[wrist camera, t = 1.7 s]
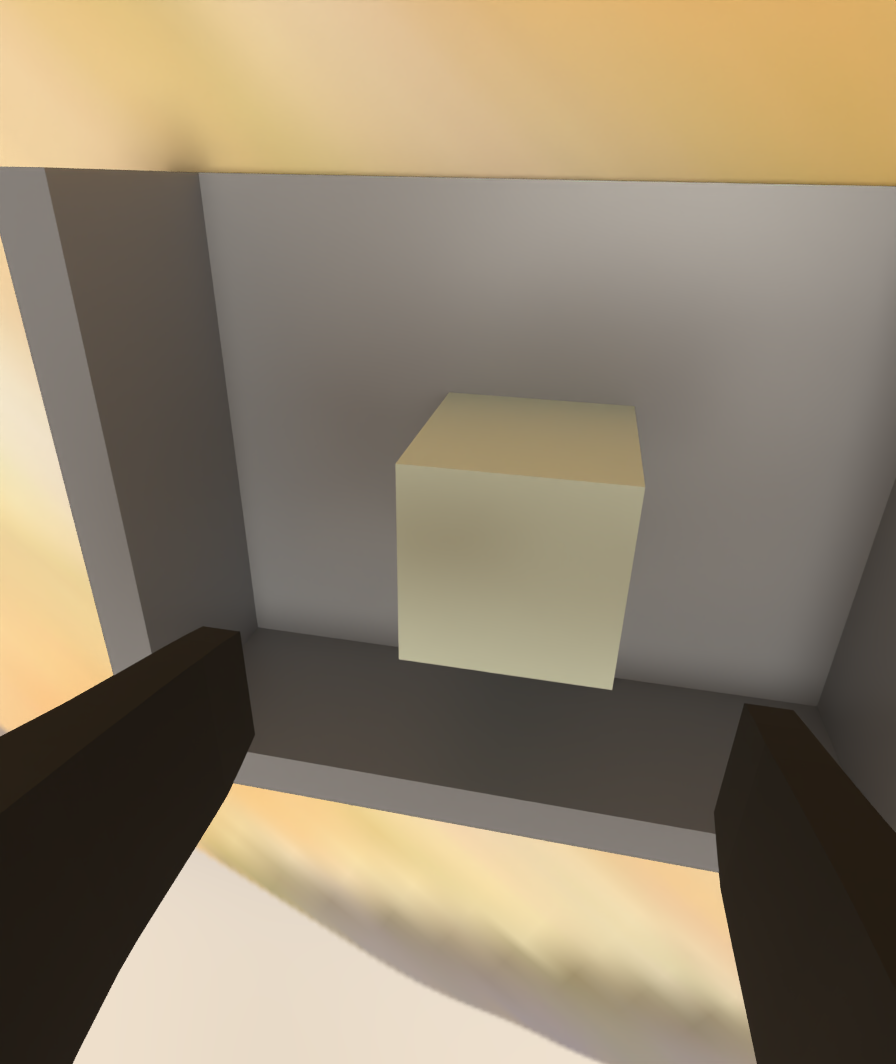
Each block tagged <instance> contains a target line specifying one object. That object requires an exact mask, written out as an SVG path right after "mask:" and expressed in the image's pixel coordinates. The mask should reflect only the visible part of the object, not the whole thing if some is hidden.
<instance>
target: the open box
mask: <svg viewBox="0 0 896 1064" xmlns="http://www.w3.org/2000/svg"><path fill="white" fill-rule="evenodd" d="M0 235H1V239H2V243H3V247H4V251H5V255H6V259H7V263H8V267H9V270H10V274H11V278H12V282H13V286H14V290H15V294H16V298H17V302H18V305H19V309H20V313H21V317H22V321H23V325H24V329H25V333H26V337H27V340H28V344H29V348H30V352H31V356H32V360H33V364H34V368H35V372H36V375H37V379H38V383H39V387H40V391H41V395H42V399H43V403H44V406H45V410H46V414H47V418H48V422H49V426H50V430H51V434H52V438H53V441H54V445H55V449H56V453H57V457H58V461H59V465H60V469H61V473H62V476H63V480H64V484H65V488H66V492H67V496H68V500H69V504H70V508H71V511H72V515H73V519H74V523H75V527H76V531H77V535H78V539H79V543H80V546H81V550H82V554H83V558H84V562H85V566H86V570H87V574H88V578H89V581H90V585H91V589H92V593H93V597H94V601H95V605H96V609H97V613H98V616H99V620H100V624H101V628H102V632H103V636H104V640H105V644H106V648H107V651H108V655H109V659H110V663H111V667H112V671H113V675H115V674H117V673H119V672H121V671H122V670H124V669H126V668H128V667H129V666H131V665H133V664H135V663H136V662H138V661H140V660H142V659H143V658H145V657H147V656H149V655H150V654H152V653H154V652H156V651H157V650H159V649H161V648H163V647H164V646H166V645H168V644H170V643H172V642H173V641H175V640H177V639H179V638H181V637H183V636H185V635H186V634H188V633H190V632H192V631H194V630H196V629H198V628H200V627H203V626H205V627H212V628H219V629H226V630H233V631H240V634H241V641H242V648H243V655H244V662H245V669H246V676H247V682H248V689H249V696H250V703H251V710H252V717H253V724H254V731H255V736H254V738H253V741H252V743H251V745H250V747H249V750H248V752H247V754H246V756H245V759H244V761H243V763H242V766H241V768H240V770H239V772H238V774H237V776H236V778H235V780H234V782H233V783H236V784H241V785H246V786H252V787H257V788H263V789H268V790H274V791H279V792H284V793H290V794H295V795H301V796H306V797H312V798H317V799H322V800H328V801H333V802H339V803H344V804H349V805H355V806H360V807H366V808H371V809H377V810H382V811H387V812H393V813H398V814H404V815H409V816H415V817H420V818H425V819H431V820H436V821H442V822H447V823H452V824H458V825H463V826H469V827H474V828H480V829H485V830H490V831H496V832H501V833H507V834H512V835H518V836H523V837H528V838H534V839H539V840H545V841H550V842H555V843H561V844H566V845H572V846H577V847H583V848H588V849H593V850H599V851H604V852H610V853H615V854H621V855H626V856H631V857H637V858H642V859H648V860H653V861H658V862H664V863H669V864H675V865H680V866H686V867H691V868H696V869H702V870H707V871H713V872H718V873H719V868H718V858H717V846H716V834H715V821H714V810H715V806H716V803H717V799H718V795H719V792H720V788H721V785H722V781H723V778H724V774H725V770H726V767H727V763H728V760H729V756H730V752H731V749H732V745H733V742H734V738H735V735H736V731H737V727H738V724H739V720H740V717H741V713H742V709H743V706H744V703H747V704H754V705H761V706H768V707H775V708H782V709H789V710H794V711H795V713H796V714H797V715H798V716H799V717H800V719H801V720H802V721H803V722H804V723H805V725H806V726H807V727H808V728H809V729H810V731H811V732H812V733H813V734H814V736H815V737H816V738H817V739H818V740H819V742H820V743H821V744H822V745H823V747H824V748H825V749H826V750H827V751H828V753H829V754H830V755H831V756H832V758H833V759H834V760H835V761H836V762H837V764H838V765H839V766H840V767H841V769H842V770H843V771H844V772H845V773H846V775H847V776H848V777H849V778H850V779H851V781H852V782H853V783H854V784H855V785H856V787H857V788H858V789H859V790H860V791H861V793H862V794H863V795H864V796H865V797H866V799H867V800H868V801H869V802H870V803H871V805H872V806H873V807H874V808H875V809H876V810H877V812H878V813H879V814H880V815H881V816H882V817H883V819H884V820H885V821H886V822H887V823H888V824H889V825H890V827H891V828H892V829H893V830H894V831H895V832H896V186H848V185H798V184H748V183H697V182H647V181H597V180H546V179H496V178H446V177H395V176H345V175H295V174H244V173H196V172H165V171H135V170H104V169H74V168H43V167H0ZM449 392H451V393H465V394H478V395H491V396H505V397H518V398H532V399H545V400H558V401H572V402H585V403H599V404H612V405H625V406H635V414H636V421H637V429H638V436H639V444H640V451H641V459H642V466H643V474H644V481H645V492H644V498H643V504H642V510H641V517H640V523H639V529H638V535H637V541H636V547H635V553H634V559H633V565H632V572H631V578H630V584H629V590H628V596H627V602H626V608H625V614H624V620H623V627H622V633H621V639H620V645H619V651H618V657H617V663H616V669H615V675H614V682H613V688H612V690H608V689H601V688H594V687H587V686H580V685H573V684H567V683H560V682H553V681H546V680H539V679H532V678H525V677H518V676H511V675H504V674H497V673H490V672H484V671H477V670H470V669H463V668H456V667H449V666H442V665H435V664H428V663H421V662H414V661H407V660H400V659H399V643H398V585H397V528H396V470H395V464H396V462H397V461H398V460H399V458H400V457H401V456H402V454H403V453H404V452H405V450H406V449H407V448H408V446H409V445H410V444H411V442H412V441H413V440H414V438H415V437H416V436H417V434H418V433H419V432H420V430H421V429H422V428H423V426H424V425H425V424H426V422H427V421H428V420H429V418H430V417H431V416H432V414H433V413H434V412H435V411H436V409H437V408H438V407H439V405H440V404H441V403H442V401H443V400H444V399H445V397H446V396H447V395H448V393H449Z"/></svg>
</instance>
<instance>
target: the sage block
mask: <svg viewBox="0 0 896 1064" xmlns="http://www.w3.org/2000/svg"><path fill="white" fill-rule="evenodd" d="M395 470H396V528H397V585H398V643H399V659H400V660H407V661H414V662H421V663H428V664H435V665H442V666H449V667H456V668H463V669H470V670H477V671H484V672H490V673H497V674H504V675H511V676H518V677H525V678H532V679H539V680H546V681H553V682H560V683H567V684H573V685H580V686H587V687H594V688H601V689H608V690H612V688H613V682H614V675H615V669H616V663H617V657H618V651H619V645H620V639H621V633H622V627H623V620H624V614H625V608H626V602H627V596H628V590H629V584H630V578H631V572H632V565H633V559H634V553H635V547H636V541H637V535H638V529H639V523H640V517H641V510H642V504H643V498H644V492H645V481H644V474H643V466H642V459H641V451H640V444H639V436H638V429H637V421H636V414H635V406H625V405H612V404H599V403H585V402H572V401H558V400H545V399H532V398H518V397H505V396H491V395H478V394H465V393H451V392H449V393H448V395H447V396H446V397H445V399H444V400H443V401H442V403H441V404H440V405H439V407H438V408H437V409H436V411H435V412H434V413H433V414H432V416H431V417H430V418H429V420H428V421H427V422H426V424H425V425H424V426H423V428H422V429H421V430H420V432H419V433H418V434H417V436H416V437H415V438H414V440H413V441H412V442H411V444H410V445H409V446H408V448H407V449H406V450H405V452H404V453H403V454H402V456H401V457H400V458H399V460H398V461H397V462H396V464H395Z"/></svg>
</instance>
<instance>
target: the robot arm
mask: <svg viewBox="0 0 896 1064" xmlns="http://www.w3.org/2000/svg"><path fill="white" fill-rule="evenodd" d="M254 736H255V731H254V724H253V717H252V710H251V703H250V696H249V689H248V682H247V676H246V669H245V662H244V655H243V648H242V641H241V634H240V631H233V630H226V629H219V628H212V627H205V626H203V627H200V628H198V629H196V630H194V631H192V632H190V633H188V634H186V635H185V636H183V637H181V638H179V639H177V640H175V641H173V642H172V643H170V644H168V645H166V646H164V647H163V648H161V649H159V650H157V651H156V652H154V653H152V654H150V655H149V656H147V657H145V658H143V659H142V660H140V661H138V662H136V663H135V664H133V665H131V666H129V667H128V668H126V669H124V670H122V671H121V672H119V673H117V674H115V675H113V676H112V677H110V678H108V679H106V680H105V681H103V682H101V683H99V684H98V685H96V686H94V687H92V688H90V689H89V690H87V691H85V692H83V693H82V694H80V695H78V696H76V697H74V698H73V699H71V700H69V701H67V702H65V703H64V704H62V705H60V706H58V707H56V708H54V709H52V710H50V711H48V712H46V713H45V714H43V715H41V716H39V717H37V718H35V719H33V720H31V721H29V722H27V723H25V724H23V725H22V726H20V727H18V728H16V729H14V730H12V731H10V732H8V733H6V734H4V735H2V736H0V1064H73V1061H74V1059H75V1057H76V1055H77V1053H78V1051H79V1049H80V1047H81V1045H82V1043H83V1041H84V1039H85V1037H86V1035H87V1033H88V1031H89V1029H90V1028H91V1026H92V1023H93V1021H94V1020H95V1018H96V1016H97V1014H98V1012H99V1010H100V1007H101V1006H102V1004H103V1002H104V1000H105V998H106V996H107V994H108V992H109V990H110V988H111V986H112V984H113V982H114V980H115V978H116V976H117V975H118V973H119V971H120V969H121V967H122V966H123V964H124V962H125V961H126V959H127V957H128V955H129V953H130V952H131V950H132V948H133V947H134V945H135V943H136V941H137V940H138V938H139V936H140V935H141V933H142V932H143V930H144V929H145V927H146V925H147V924H148V922H149V920H150V919H151V917H152V916H153V914H154V913H155V911H156V909H157V908H158V906H159V905H160V903H161V901H162V900H163V898H164V897H165V895H166V893H167V892H168V890H169V889H170V887H171V885H172V884H173V882H174V881H175V879H176V878H177V876H178V874H179V873H180V871H181V870H182V868H183V866H184V865H185V863H186V862H187V860H188V859H189V857H190V855H191V854H192V852H193V851H194V849H195V847H196V846H197V844H198V843H199V841H200V839H201V838H202V836H203V834H204V833H205V831H206V830H207V828H208V826H209V825H210V823H211V821H212V820H213V818H214V817H215V815H216V813H217V812H218V810H219V808H220V807H221V805H222V803H223V802H224V800H225V798H226V797H227V795H228V793H229V791H230V789H231V787H232V784H233V782H234V780H235V778H236V776H237V774H238V772H239V770H240V768H241V766H242V763H243V761H244V759H245V756H246V754H247V752H248V750H249V747H250V745H251V743H252V741H253V738H254ZM714 821H715V834H716V846H717V858H718V868H719V878H720V888H721V893H722V898H723V903H724V908H725V913H726V918H727V923H728V928H729V933H730V938H731V942H732V947H733V952H734V957H735V962H736V966H737V971H738V976H739V981H740V985H741V990H742V995H743V999H744V1004H745V1009H746V1014H747V1018H748V1023H749V1028H750V1033H751V1037H752V1042H753V1047H754V1052H755V1056H756V1061H757V1064H896V832H895V831H894V830H893V829H892V828H891V827H890V825H889V824H888V823H887V822H886V821H885V820H884V819H883V817H882V816H881V815H880V814H879V813H878V812H877V810H876V809H875V808H874V807H873V806H872V805H871V803H870V802H869V801H868V800H867V799H866V797H865V796H864V795H863V794H862V793H861V791H860V790H859V789H858V788H857V787H856V785H855V784H854V783H853V782H852V781H851V779H850V778H849V777H848V776H847V775H846V773H845V772H844V771H843V770H842V769H841V767H840V766H839V765H838V764H837V762H836V761H835V760H834V759H833V758H832V756H831V755H830V754H829V753H828V751H827V750H826V749H825V748H824V747H823V745H822V744H821V743H820V742H819V740H818V739H817V738H816V737H815V736H814V734H813V733H812V732H811V731H810V729H809V728H808V727H807V726H806V725H805V723H804V722H803V721H802V720H801V719H800V717H799V716H798V715H797V714H796V713H795V711H794V710H789V709H782V708H775V707H768V706H761V705H754V704H747V703H744V706H743V709H742V713H741V717H740V720H739V724H738V727H737V731H736V735H735V738H734V742H733V745H732V749H731V752H730V756H729V760H728V763H727V767H726V770H725V774H724V778H723V781H722V785H721V788H720V792H719V795H718V799H717V803H716V806H715V810H714Z"/></svg>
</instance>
